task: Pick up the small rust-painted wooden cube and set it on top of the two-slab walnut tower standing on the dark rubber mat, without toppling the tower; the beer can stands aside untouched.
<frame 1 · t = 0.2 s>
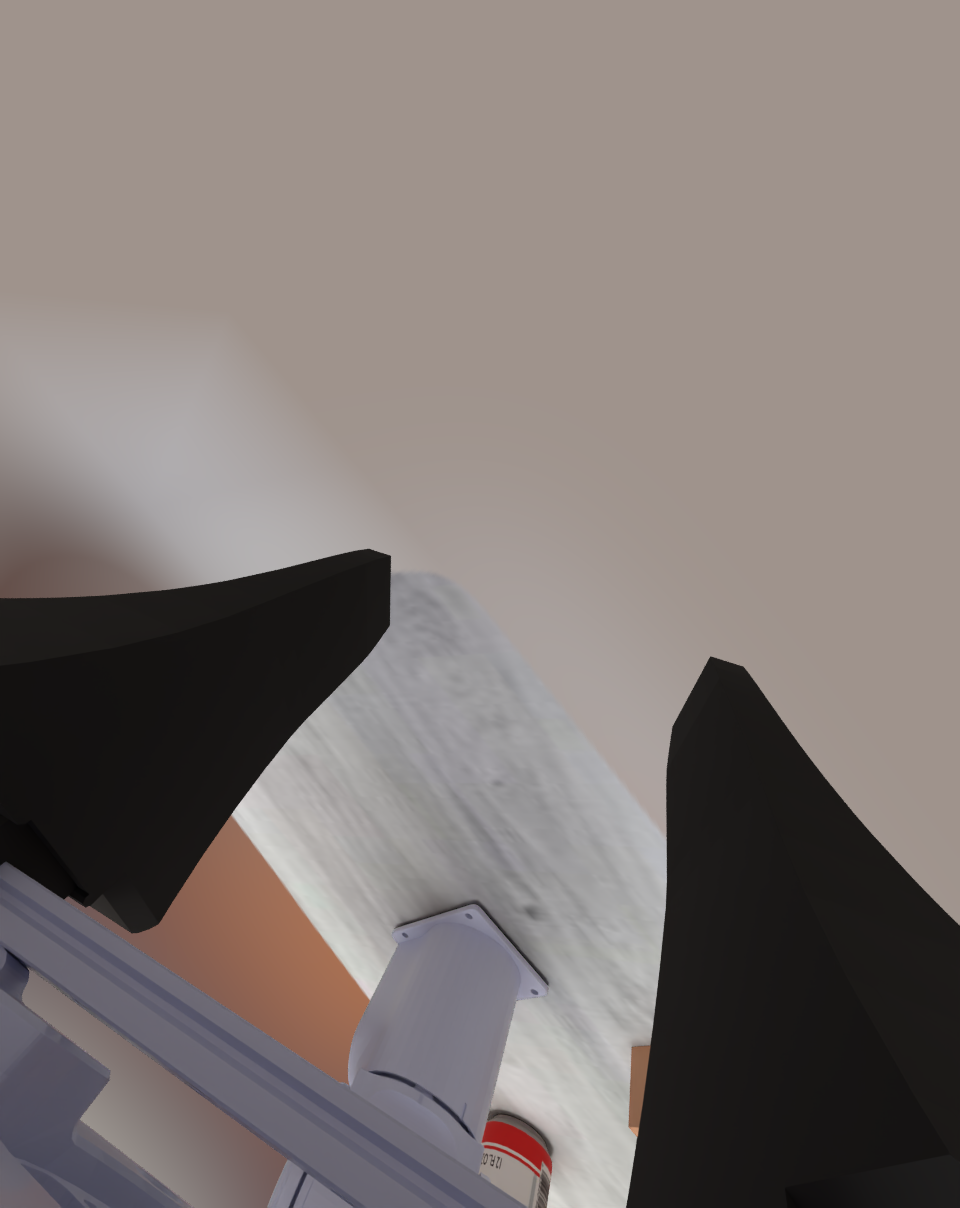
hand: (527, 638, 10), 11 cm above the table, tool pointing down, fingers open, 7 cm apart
cube: (677, 1065, 29), on the table
beer can: (519, 1131, 39), on the table
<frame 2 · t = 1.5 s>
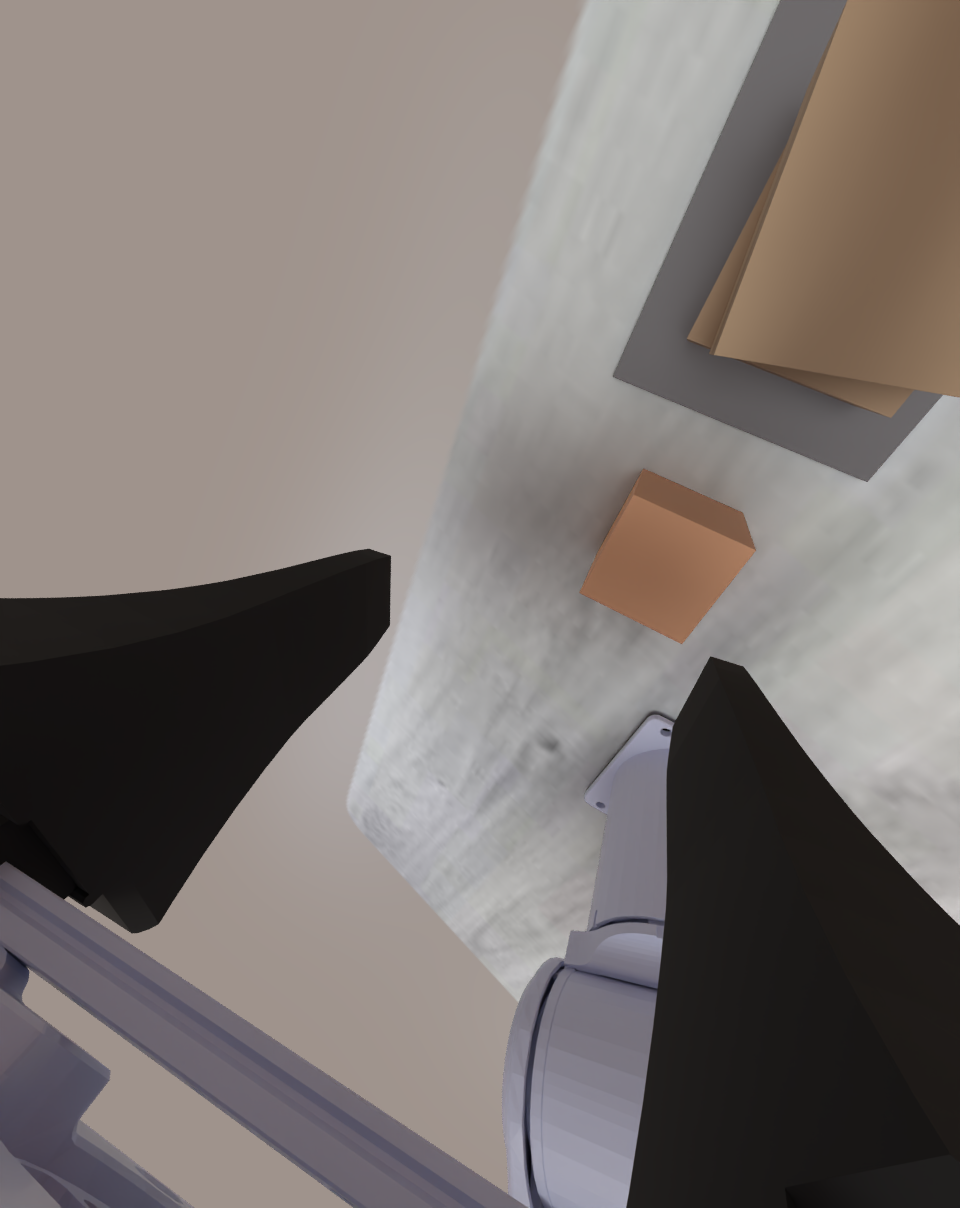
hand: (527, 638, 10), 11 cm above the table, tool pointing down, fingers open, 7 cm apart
mat: (830, 271, 13), on the table
cube: (664, 534, 18), on the table
slab bottom: (834, 269, 13), resting on mat, touching slab top
slab top: (868, 250, 10), point 3 cm above the table, touching slab bottom
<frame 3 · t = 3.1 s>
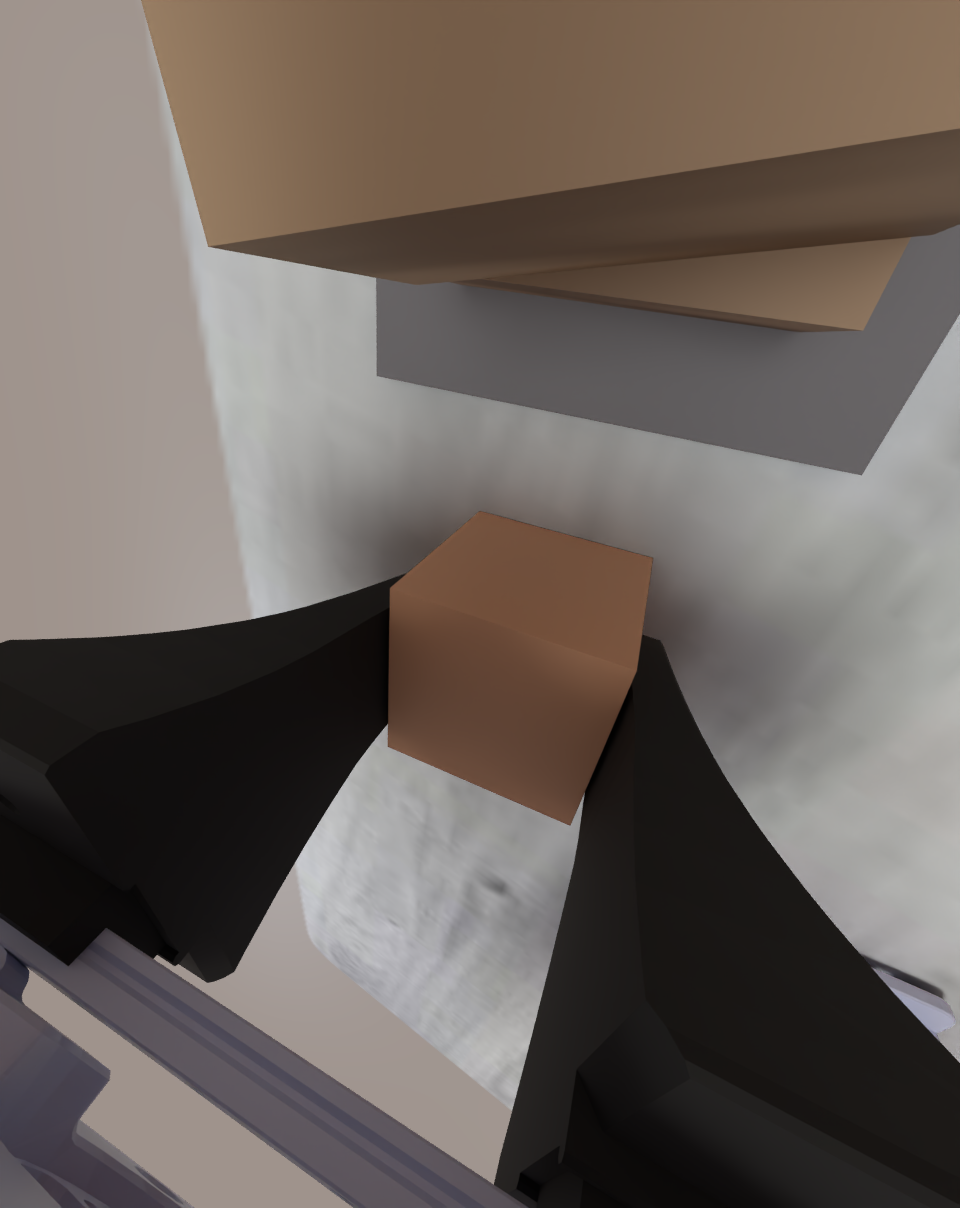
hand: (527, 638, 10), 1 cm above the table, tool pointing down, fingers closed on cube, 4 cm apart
mat: (676, 67, 6), on the table
cube: (544, 606, 11), on the table, touching gripper
slab bottom: (676, 52, 6), resting on mat, touching slab top
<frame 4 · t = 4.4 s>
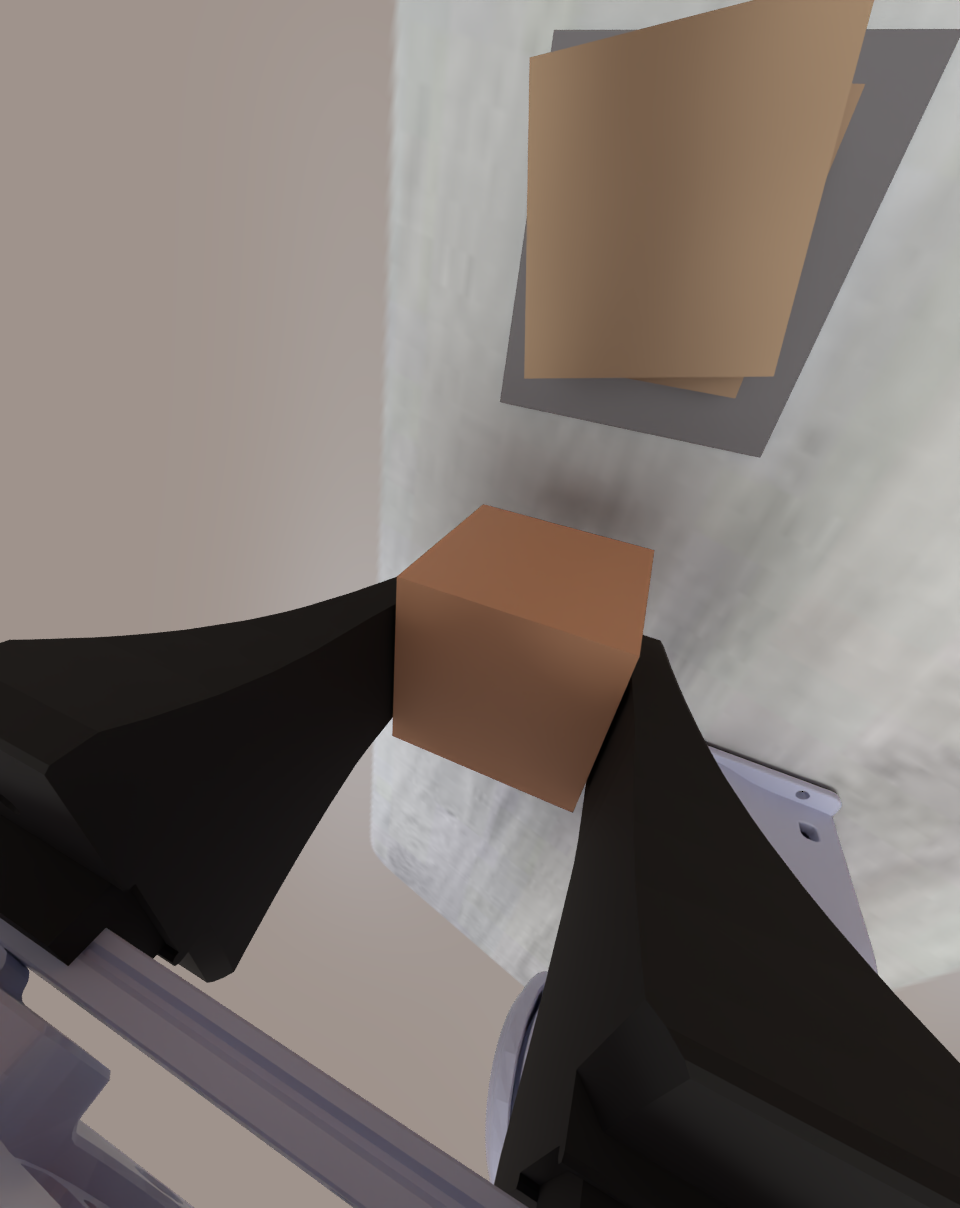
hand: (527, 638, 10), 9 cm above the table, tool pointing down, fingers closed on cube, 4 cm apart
mat: (668, 268, 13), on the table
cube: (546, 599, 11), point 8 cm above the table, touching gripper
slab bottom: (668, 266, 13), resting on mat, touching slab top
slab top: (664, 250, 11), point 3 cm above the table, touching slab bottom
when the fingers open (9 cm above the table, at t = 5.6 s): cube stays where it is, resting on slab top.
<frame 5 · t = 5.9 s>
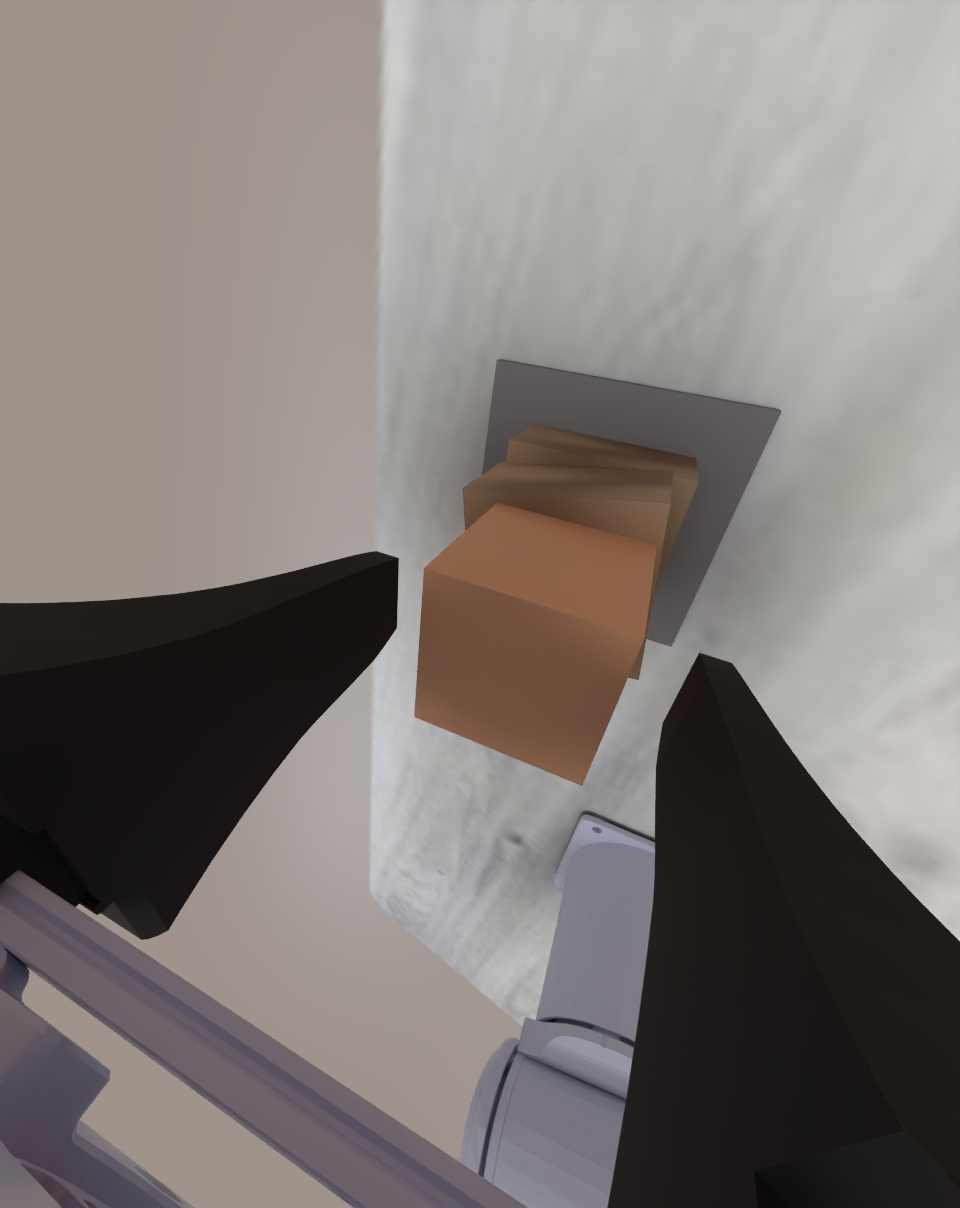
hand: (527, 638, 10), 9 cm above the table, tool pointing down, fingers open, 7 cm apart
mat: (593, 511, 17), on the table
cube: (555, 591, 12), point 6 cm above the table, touching slab top
slab bottom: (591, 515, 17), resting on mat, touching slab top
slab top: (575, 545, 14), point 3 cm above the table, touching cube, slab bottom
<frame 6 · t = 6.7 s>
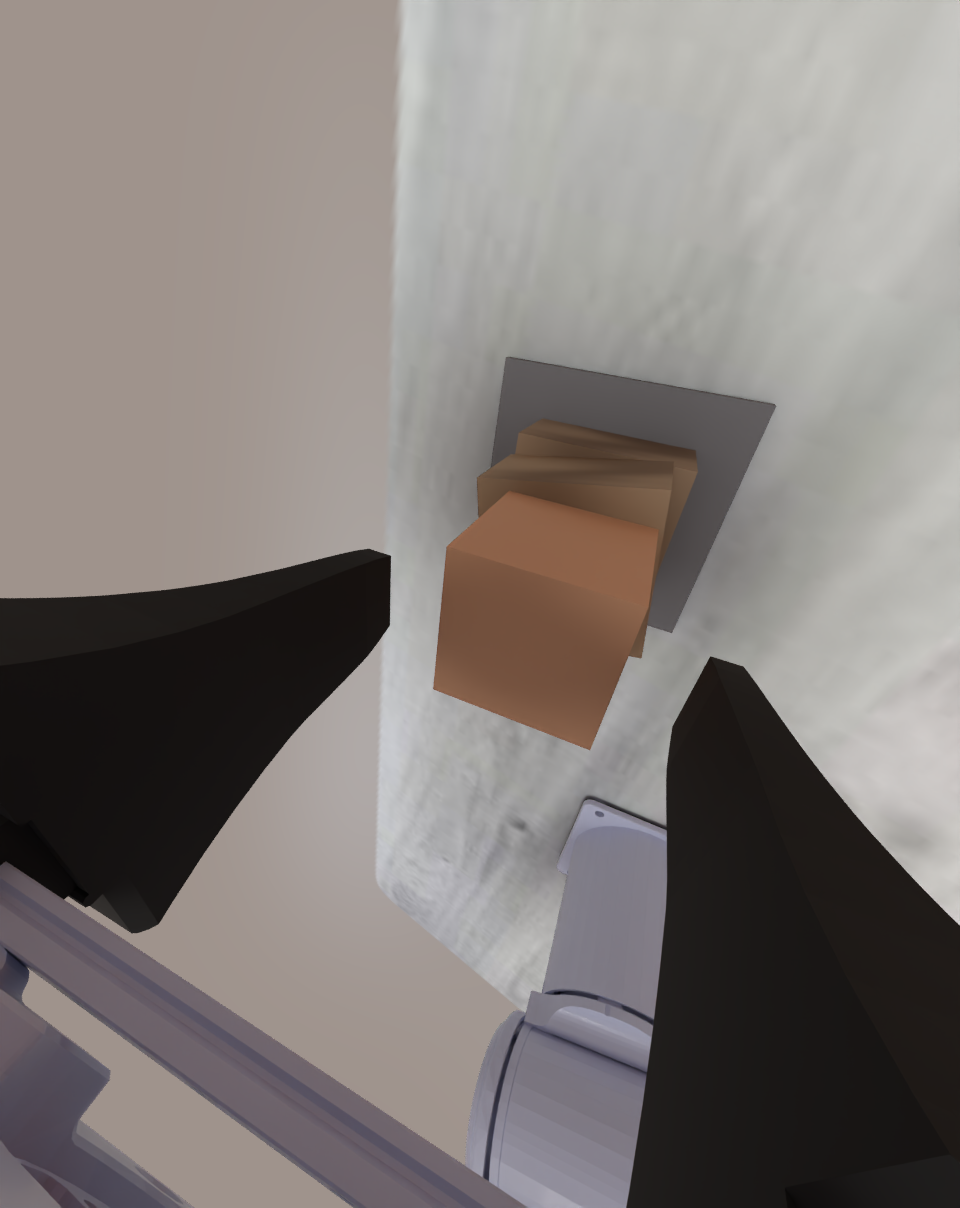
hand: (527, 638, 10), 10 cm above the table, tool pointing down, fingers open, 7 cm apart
mat: (597, 503, 18), on the table
cube: (563, 574, 13), point 6 cm above the table, touching slab top
slab bottom: (595, 506, 18), resting on mat, touching slab top
slab top: (581, 533, 15), point 3 cm above the table, touching cube, slab bottom
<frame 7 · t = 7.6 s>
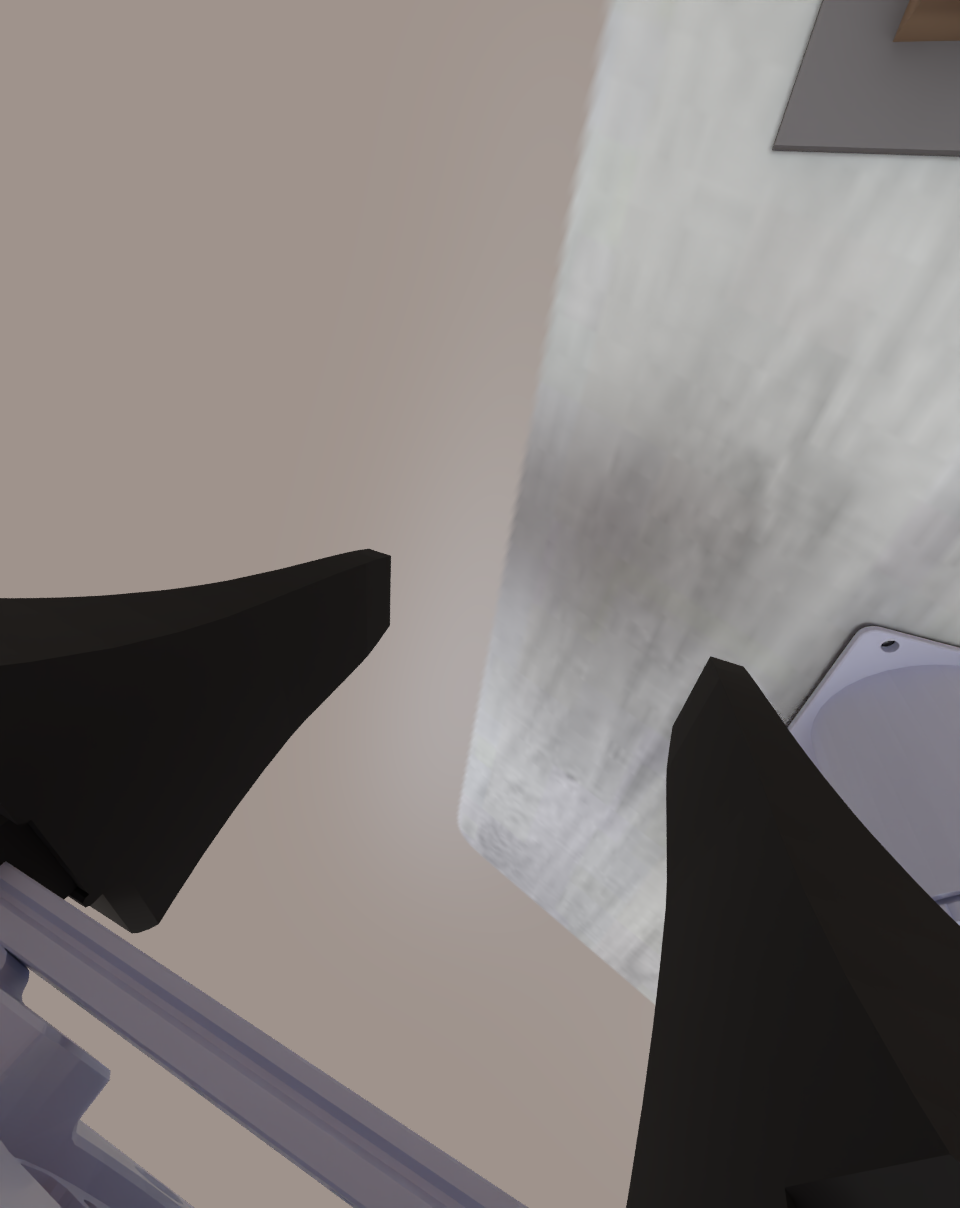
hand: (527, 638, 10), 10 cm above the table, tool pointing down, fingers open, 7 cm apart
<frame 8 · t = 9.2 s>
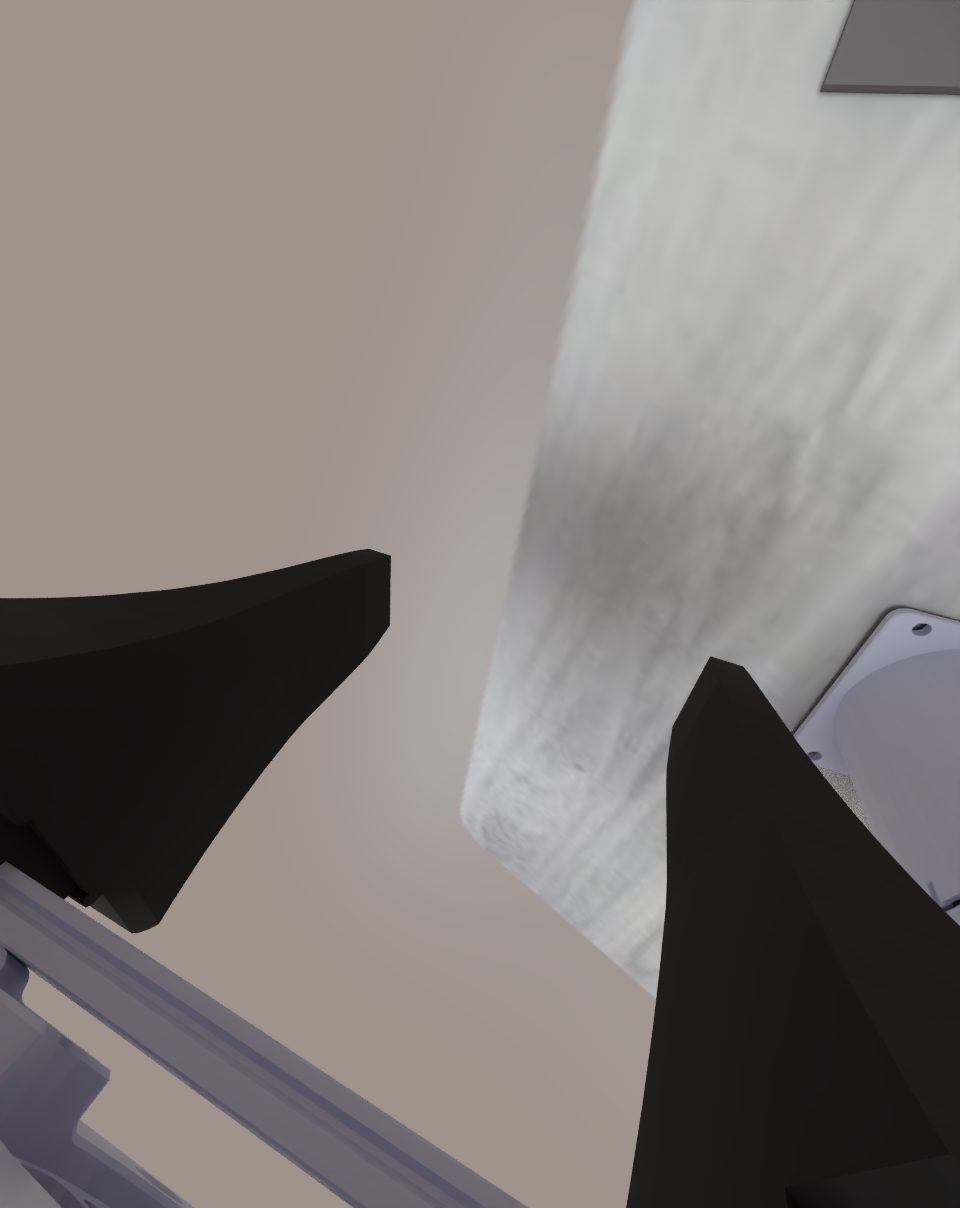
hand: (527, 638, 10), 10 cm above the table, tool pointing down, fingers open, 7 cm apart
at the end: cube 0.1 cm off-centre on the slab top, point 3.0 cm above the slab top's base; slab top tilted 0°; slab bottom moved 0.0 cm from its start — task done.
